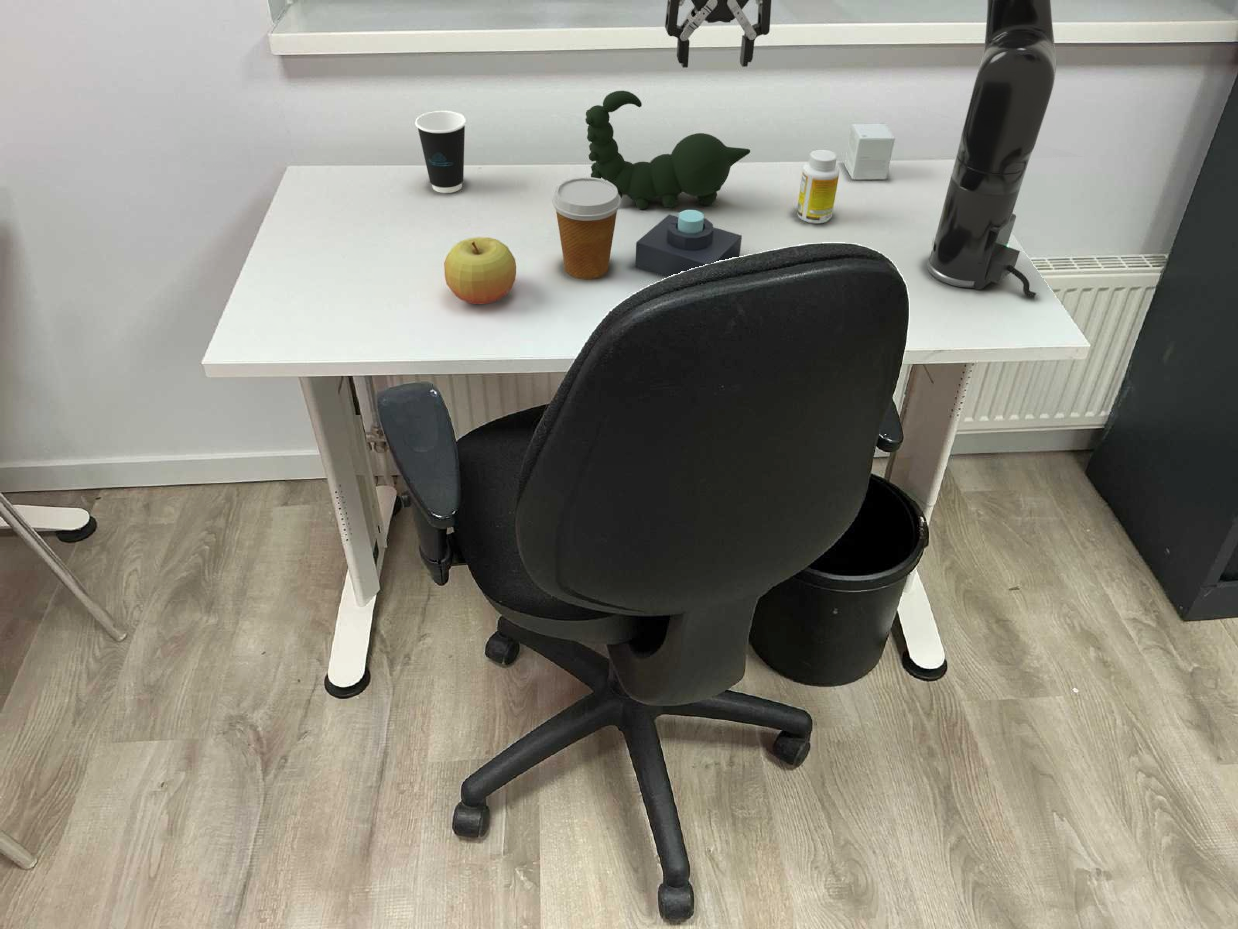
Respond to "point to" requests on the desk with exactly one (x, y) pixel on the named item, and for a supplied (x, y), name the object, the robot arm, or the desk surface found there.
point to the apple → (480, 270)
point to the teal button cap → (690, 221)
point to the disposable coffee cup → (586, 224)
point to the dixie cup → (443, 148)
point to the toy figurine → (658, 161)
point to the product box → (869, 151)
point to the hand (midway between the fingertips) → (714, 65)
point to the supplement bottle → (818, 187)
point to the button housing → (684, 247)
